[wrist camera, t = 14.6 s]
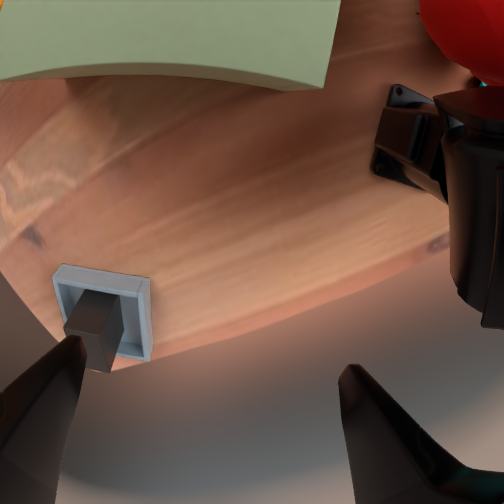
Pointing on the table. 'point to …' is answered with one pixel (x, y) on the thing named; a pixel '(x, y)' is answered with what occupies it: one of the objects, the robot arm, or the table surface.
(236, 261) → the table surface
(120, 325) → the charcoal rectangular block
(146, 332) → the dish
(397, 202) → the table surface
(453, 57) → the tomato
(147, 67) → the cabinet
